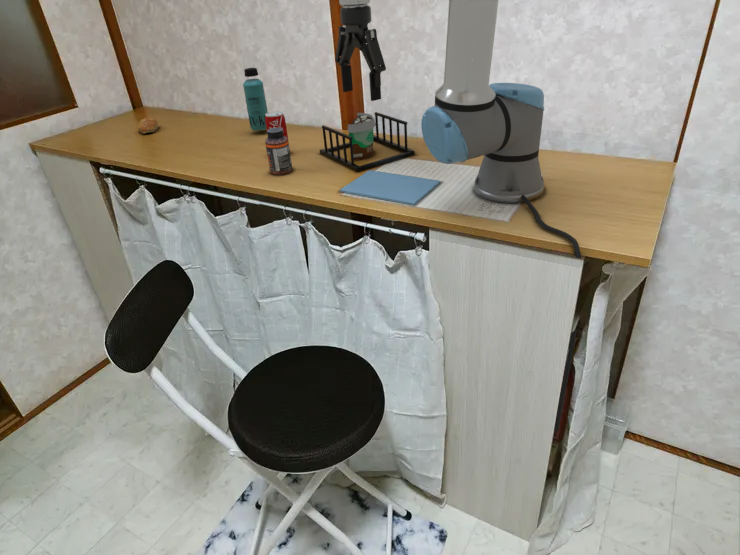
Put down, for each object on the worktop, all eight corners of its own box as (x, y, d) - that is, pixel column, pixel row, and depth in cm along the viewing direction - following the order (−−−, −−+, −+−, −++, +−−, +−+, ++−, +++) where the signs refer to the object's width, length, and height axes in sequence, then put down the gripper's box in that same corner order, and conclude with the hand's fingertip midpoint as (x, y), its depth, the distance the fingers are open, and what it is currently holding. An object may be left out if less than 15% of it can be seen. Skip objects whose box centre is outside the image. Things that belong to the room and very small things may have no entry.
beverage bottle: (250, 131, 176) (238, 67, 165) (270, 128, 177) (259, 65, 167) (252, 136, 170) (240, 71, 160) (272, 133, 172) (262, 68, 161)
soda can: (272, 158, 151) (265, 116, 144) (270, 152, 155) (262, 111, 149) (291, 155, 152) (285, 113, 145) (288, 150, 156) (282, 108, 150)
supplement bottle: (268, 170, 143) (260, 128, 137) (289, 165, 145) (283, 124, 139) (272, 177, 138) (265, 134, 132) (295, 172, 140) (288, 130, 134)
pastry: (158, 133, 182) (155, 121, 180) (138, 136, 180) (134, 125, 178) (159, 126, 189) (156, 115, 187) (139, 129, 188) (136, 118, 186)
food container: (372, 162, 143) (370, 125, 137) (350, 161, 144) (347, 125, 139) (381, 146, 153) (379, 112, 148) (360, 146, 154) (357, 112, 149)
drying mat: (440, 182, 127) (440, 180, 127) (414, 205, 117) (413, 203, 117) (369, 171, 137) (369, 169, 136) (339, 191, 127) (339, 189, 127)
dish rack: (414, 154, 145) (413, 123, 141) (357, 172, 137) (354, 139, 133) (373, 138, 160) (372, 110, 155) (319, 153, 152) (316, 124, 147)
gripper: (398, 6, 121) (401, 100, 133) (341, 1, 139) (348, 85, 151) (371, 10, 118) (376, 106, 129) (316, 5, 136) (325, 90, 147)
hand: (361, 95), depth 140 cm, fingers open, 13 cm apart
